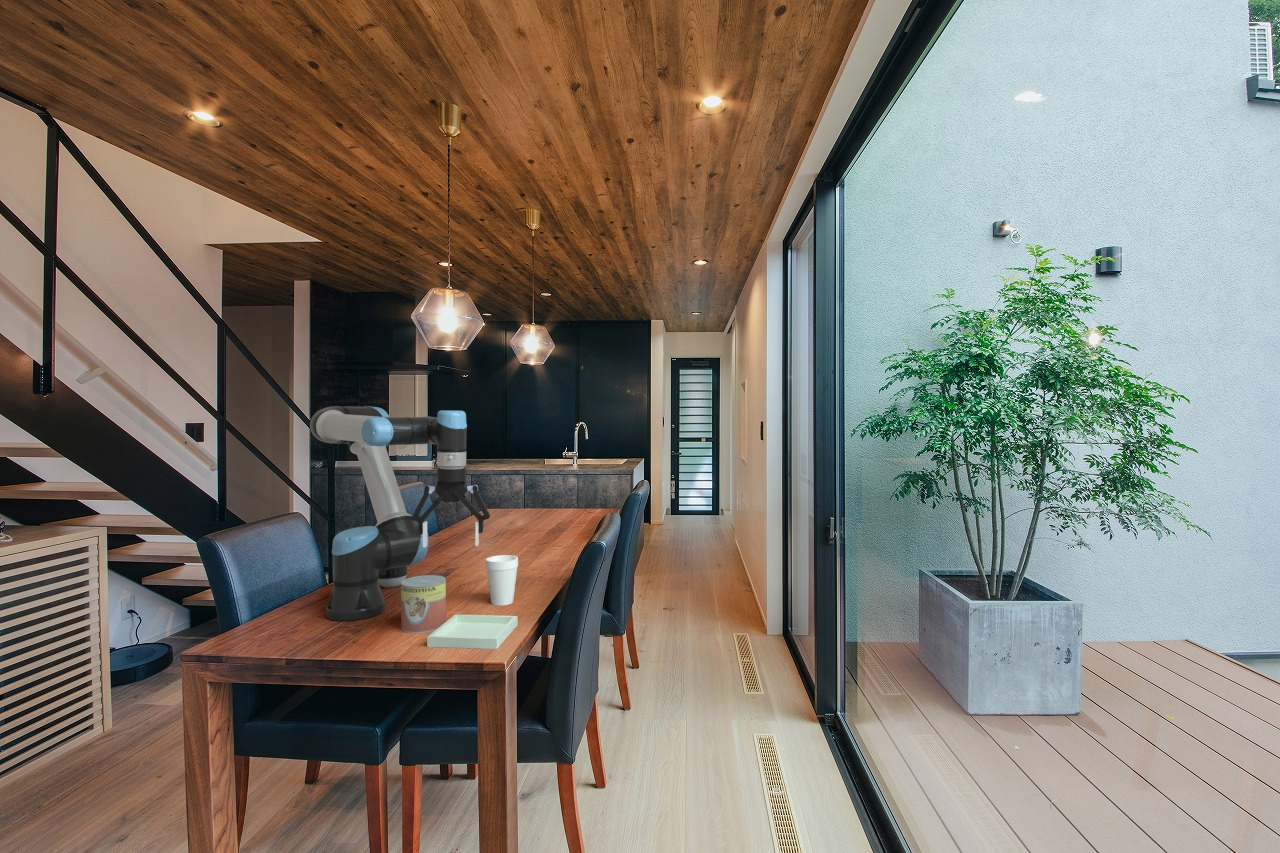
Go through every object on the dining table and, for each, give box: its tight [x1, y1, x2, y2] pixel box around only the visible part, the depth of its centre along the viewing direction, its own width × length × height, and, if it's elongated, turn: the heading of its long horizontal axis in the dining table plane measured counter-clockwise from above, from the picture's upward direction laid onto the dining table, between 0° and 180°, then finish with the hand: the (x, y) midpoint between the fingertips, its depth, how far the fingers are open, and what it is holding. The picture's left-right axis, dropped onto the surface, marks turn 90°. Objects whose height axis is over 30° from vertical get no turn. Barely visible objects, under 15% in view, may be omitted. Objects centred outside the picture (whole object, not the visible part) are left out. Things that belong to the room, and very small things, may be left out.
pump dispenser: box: [378, 566, 409, 589], centre depth 202 cm, size 10×10×15 cm
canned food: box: [400, 574, 447, 634], centre depth 163 cm, size 11×11×12 cm
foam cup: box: [485, 554, 519, 606], centre depth 183 cm, size 10×9×13 cm
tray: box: [426, 613, 519, 650], centre depth 155 cm, size 17×17×2 cm
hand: (451, 545), depth 168 cm, fingers open, 13 cm apart
